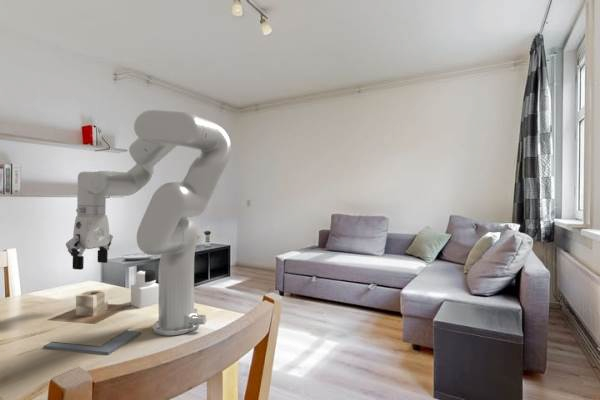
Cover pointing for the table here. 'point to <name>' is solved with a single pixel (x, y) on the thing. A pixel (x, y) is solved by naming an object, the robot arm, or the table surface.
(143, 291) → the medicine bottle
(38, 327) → the table surface
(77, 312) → the ring block
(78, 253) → the robot arm
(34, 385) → the table surface
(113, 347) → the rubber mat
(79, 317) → the peg stand
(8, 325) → the table surface
